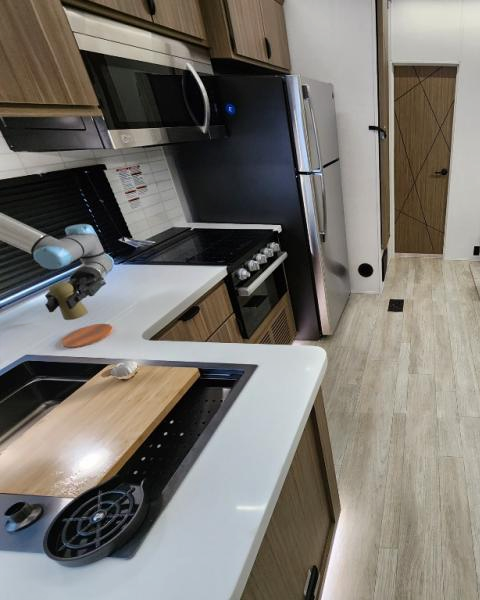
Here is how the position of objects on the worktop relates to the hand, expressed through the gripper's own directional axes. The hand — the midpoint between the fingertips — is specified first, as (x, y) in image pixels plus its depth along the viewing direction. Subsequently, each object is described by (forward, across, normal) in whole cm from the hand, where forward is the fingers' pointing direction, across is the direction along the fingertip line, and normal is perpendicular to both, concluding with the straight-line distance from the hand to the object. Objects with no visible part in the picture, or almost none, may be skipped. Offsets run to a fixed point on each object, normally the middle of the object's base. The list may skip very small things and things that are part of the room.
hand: (59, 306), depth 98 cm
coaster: (-5, 0, -14) cm, 15 cm away
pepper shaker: (-5, 0, -6) cm, 8 cm away
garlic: (+24, -18, -14) cm, 33 cm away
